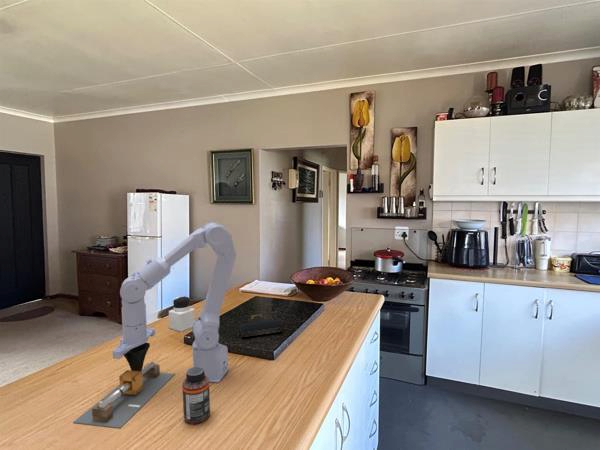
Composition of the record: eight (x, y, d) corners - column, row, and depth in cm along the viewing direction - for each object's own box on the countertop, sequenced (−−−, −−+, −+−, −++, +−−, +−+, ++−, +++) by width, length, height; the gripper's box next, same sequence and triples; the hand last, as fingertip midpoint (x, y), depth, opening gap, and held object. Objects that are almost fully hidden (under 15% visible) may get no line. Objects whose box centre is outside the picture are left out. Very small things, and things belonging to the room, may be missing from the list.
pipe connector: (237, 315, 131) (274, 311, 136) (237, 328, 131) (274, 323, 136) (242, 326, 120) (282, 321, 125) (242, 341, 121) (282, 335, 125)
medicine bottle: (195, 326, 133) (194, 296, 132) (180, 332, 127) (179, 301, 126) (184, 322, 137) (183, 294, 136) (168, 328, 131) (167, 298, 130)
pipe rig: (175, 374, 97) (174, 360, 96) (120, 428, 74) (119, 410, 74) (137, 371, 99) (136, 357, 98) (73, 422, 76) (72, 405, 76)
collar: (142, 388, 88) (142, 371, 88) (135, 394, 85) (134, 377, 85) (127, 386, 89) (127, 370, 89) (120, 393, 86) (119, 376, 86)
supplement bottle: (187, 409, 81) (185, 364, 80) (212, 407, 81) (210, 363, 80) (180, 425, 75) (178, 377, 74) (207, 424, 75) (206, 376, 75)
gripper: (138, 312, 96) (140, 358, 97) (100, 332, 82) (103, 385, 83) (160, 313, 95) (162, 360, 96) (126, 334, 80) (129, 388, 81)
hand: (136, 372), depth 89 cm, fingers closed
